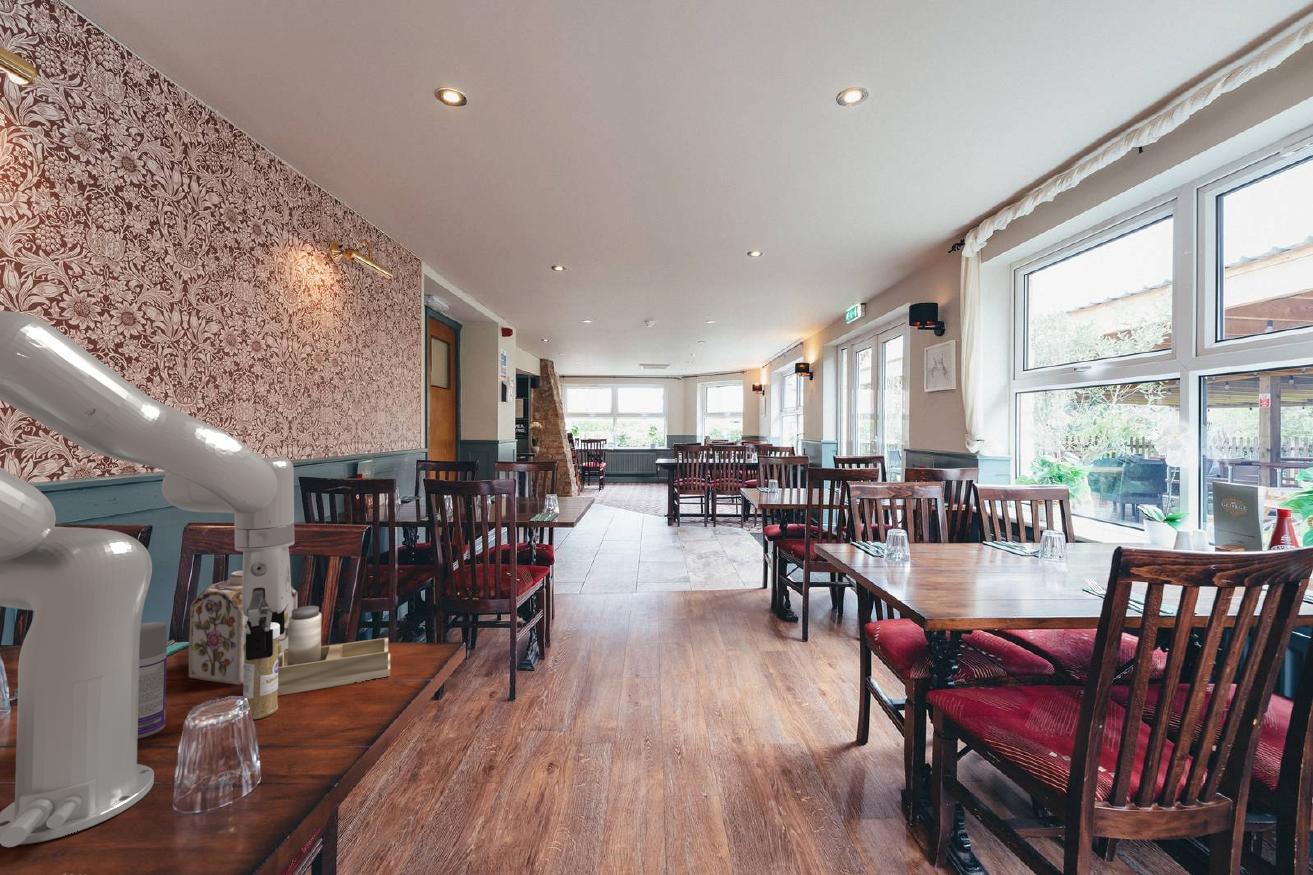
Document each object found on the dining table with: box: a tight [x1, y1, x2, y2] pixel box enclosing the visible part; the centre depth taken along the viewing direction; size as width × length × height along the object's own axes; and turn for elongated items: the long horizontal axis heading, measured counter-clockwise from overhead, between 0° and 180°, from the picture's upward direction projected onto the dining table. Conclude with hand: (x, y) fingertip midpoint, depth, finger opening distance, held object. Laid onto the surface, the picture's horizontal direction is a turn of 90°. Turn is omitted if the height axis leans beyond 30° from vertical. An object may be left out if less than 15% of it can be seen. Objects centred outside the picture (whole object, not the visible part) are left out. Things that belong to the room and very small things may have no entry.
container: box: [137, 621, 168, 740], centre depth 78 cm, size 5×5×15 cm
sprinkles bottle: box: [242, 622, 280, 720], centre depth 83 cm, size 5×5×14 cm
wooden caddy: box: [277, 605, 391, 697], centre depth 96 cm, size 8×18×13 cm, turn 116°
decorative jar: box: [188, 570, 298, 686], centre depth 99 cm, size 12×12×18 cm
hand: (266, 646), depth 84 cm, fingers open, 9 cm apart
